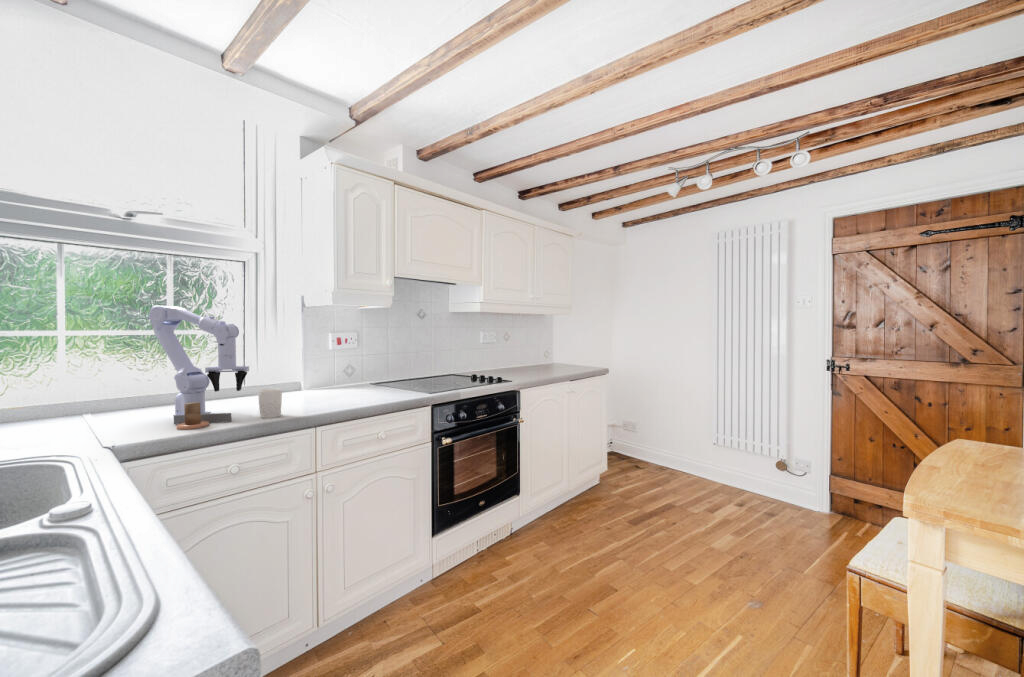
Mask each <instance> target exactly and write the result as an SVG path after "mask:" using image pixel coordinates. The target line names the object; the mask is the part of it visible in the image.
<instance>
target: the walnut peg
mask: <svg viewBox="0 0 1024 677" xmlns="http://www.w3.org/2000/svg"><path fill="white" fill-rule="evenodd" d="M184 410H185V425H196V424H200V423H201V407H200V402H191V403H185V404H184Z"/></svg>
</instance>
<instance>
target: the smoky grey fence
mask: <svg viewBox="0 0 1024 677" xmlns="http://www.w3.org/2000/svg"><path fill="white" fill-rule="evenodd" d="M173 415H174V416H173V425H178V424H181V423H185V415H175V414H173ZM201 421H208V422H209V424H211V423H212V424H213V423H231V422H232V412H227V413H226V412H224V413H223V412H220V413H208V414H201Z"/></svg>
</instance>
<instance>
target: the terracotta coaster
mask: <svg viewBox="0 0 1024 677" xmlns="http://www.w3.org/2000/svg"><path fill="white" fill-rule="evenodd" d="M175 425H176V430H180V431H181V430H182V431H187V430H188V431H189V430H196V429H203V428H206V427H208V426H210V423H209V422H208V421H201V423H200V424H196V425H185V423H181V424H175Z"/></svg>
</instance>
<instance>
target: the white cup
mask: <svg viewBox="0 0 1024 677" xmlns="http://www.w3.org/2000/svg"><path fill="white" fill-rule="evenodd" d="M282 394H283V389H282V388H264V389H260V390H258V391H257V395H258V406H259V407H258V408H259V415H260V416H259V417H260V418H261V419H272V418H278V417H281V415H282V399H283V398H282V397H283V395H282Z"/></svg>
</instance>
